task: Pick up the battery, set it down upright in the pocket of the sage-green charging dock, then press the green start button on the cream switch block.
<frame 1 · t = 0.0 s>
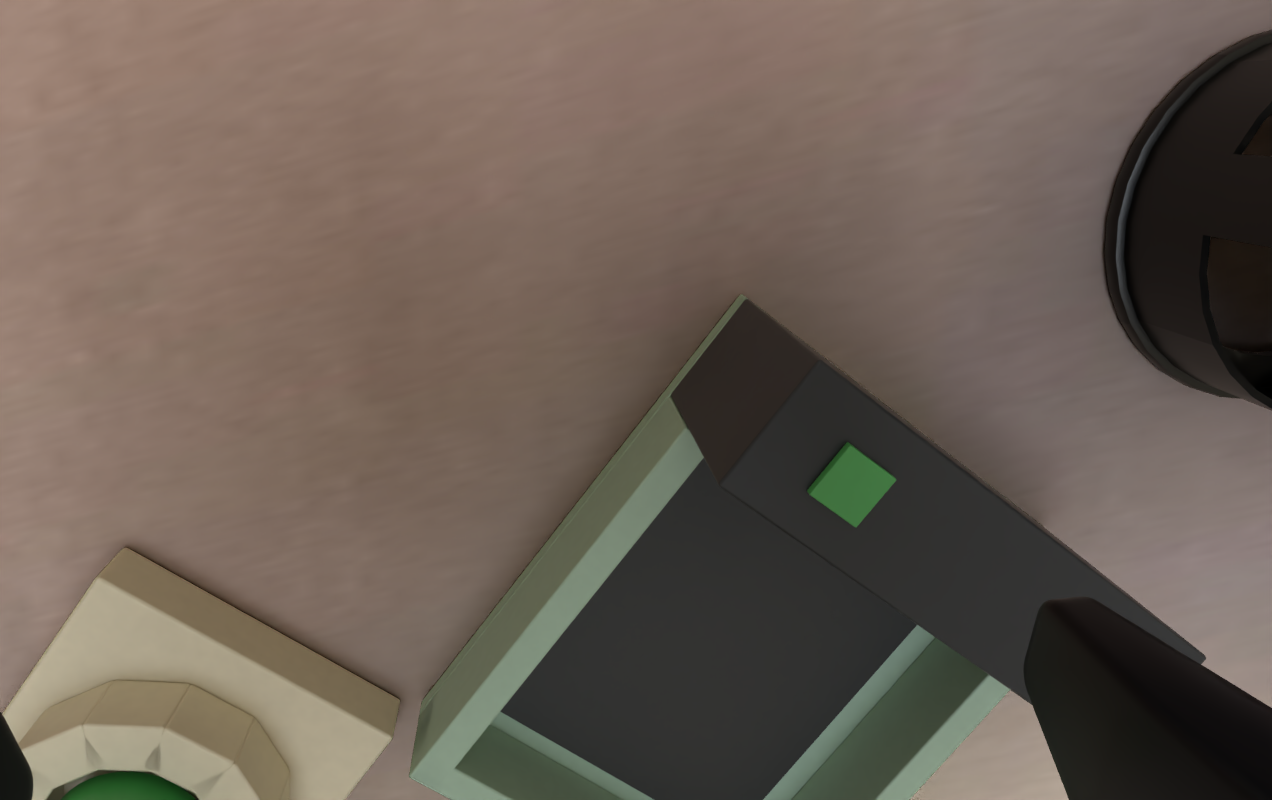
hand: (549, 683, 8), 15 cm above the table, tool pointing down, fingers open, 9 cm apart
switch block: (177, 751, 25), on the table
charging dock: (734, 616, 26), on the table
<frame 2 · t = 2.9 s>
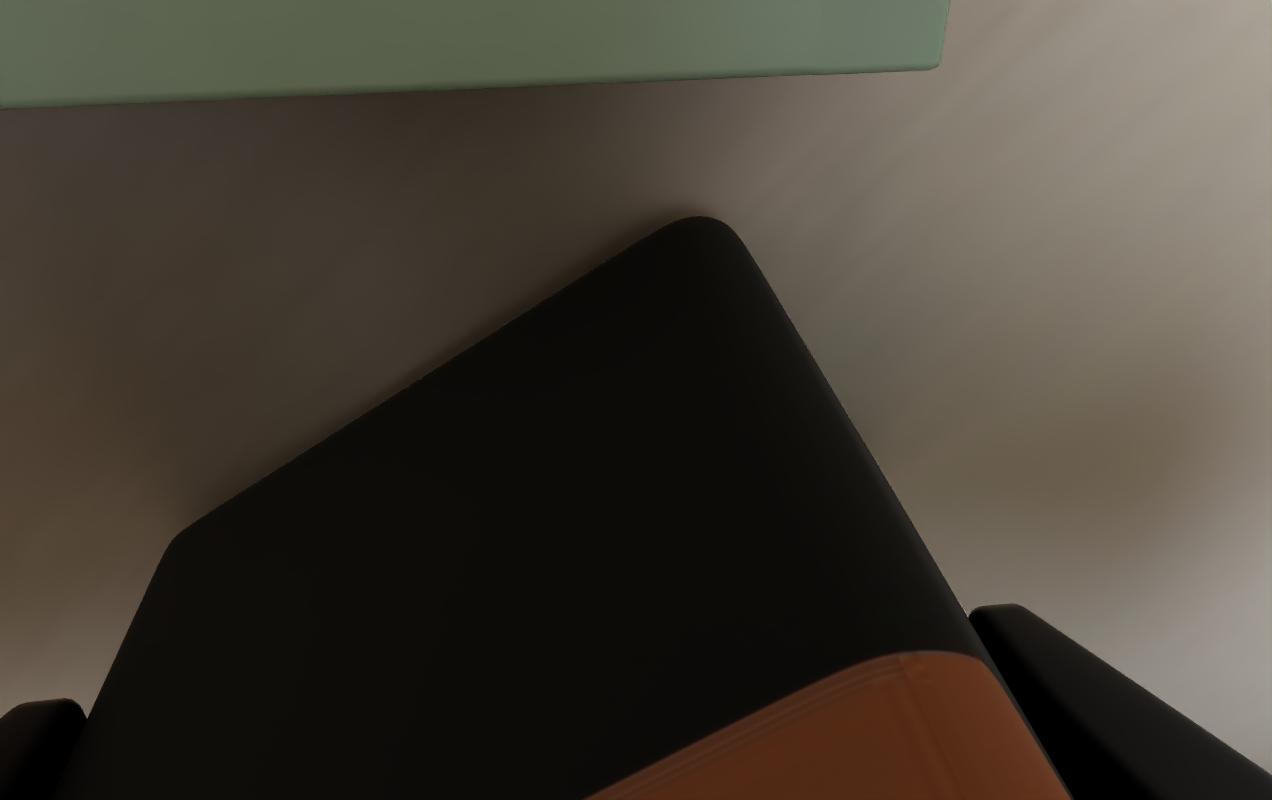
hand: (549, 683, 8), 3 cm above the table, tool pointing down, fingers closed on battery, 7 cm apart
battery: (536, 495, 11), on the table, touching gripper
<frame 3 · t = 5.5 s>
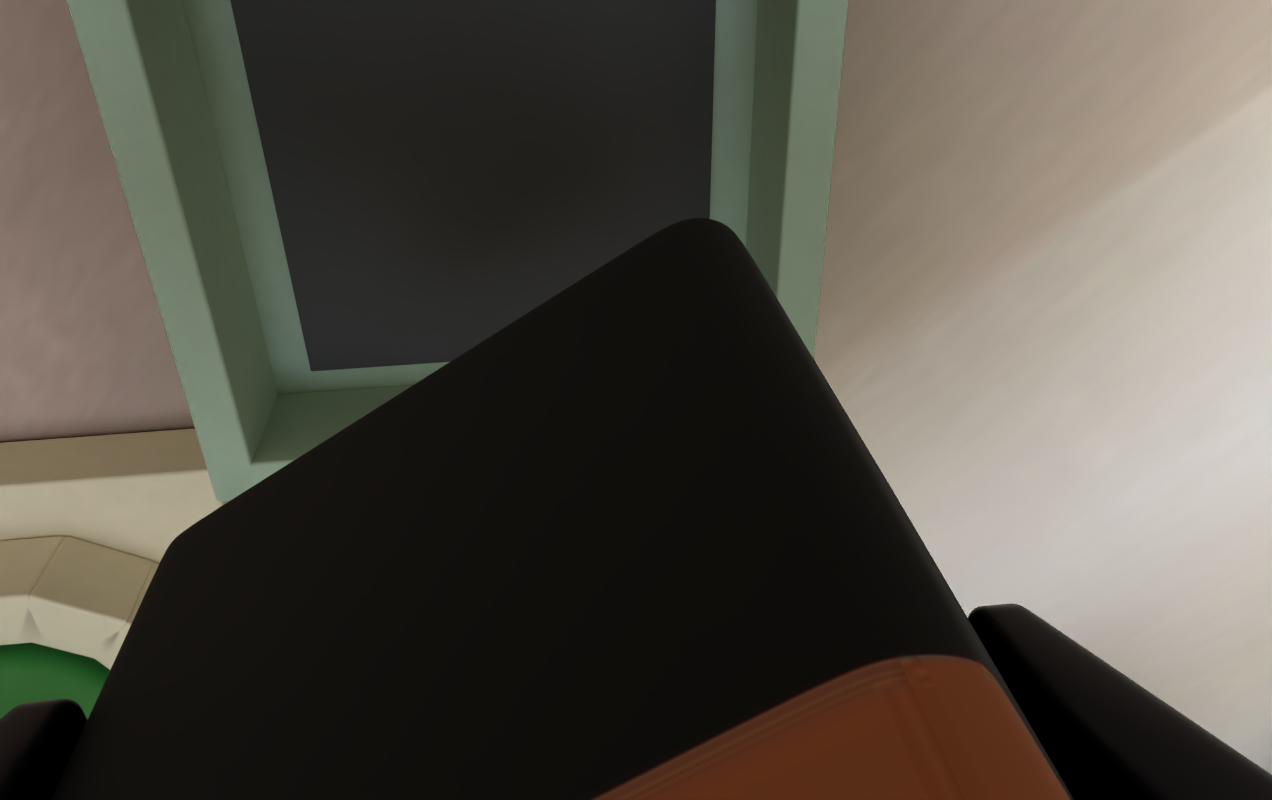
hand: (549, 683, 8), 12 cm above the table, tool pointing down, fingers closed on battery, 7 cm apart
start button: (24, 746, 19), point 4 cm above the table, slide at 0.1 cm
battery: (536, 497, 11), point 9 cm above the table, touching gripper
switch block: (99, 600, 22), on the table
charging dock: (487, 70, 17), on the table
when the fingers open (3 cm above the table, at t = 8.2 s): battery stays where it is, resting on charging dock.
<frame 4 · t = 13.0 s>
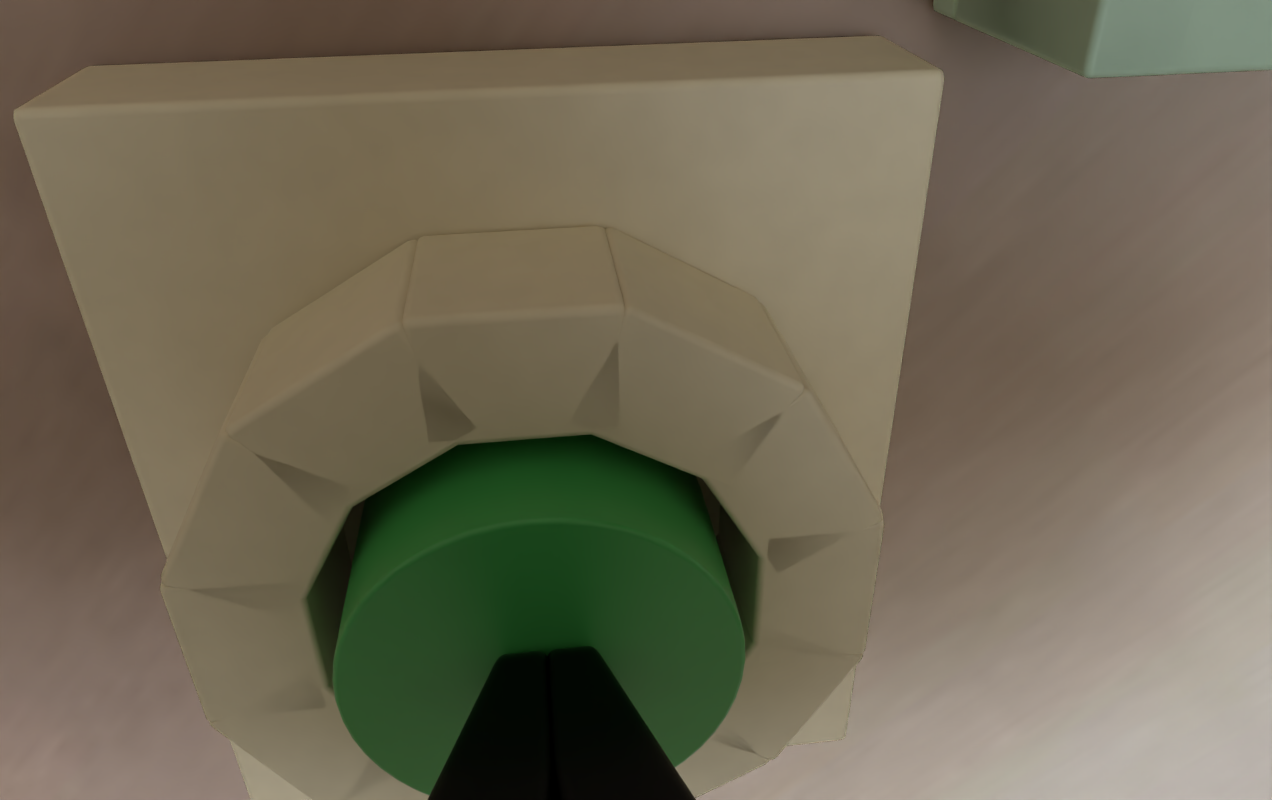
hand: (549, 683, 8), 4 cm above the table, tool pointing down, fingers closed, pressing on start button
start button: (540, 602, 9), point 3 cm above the table, slide at -0.8 cm, touching gripper
switch block: (531, 425, 12), on the table
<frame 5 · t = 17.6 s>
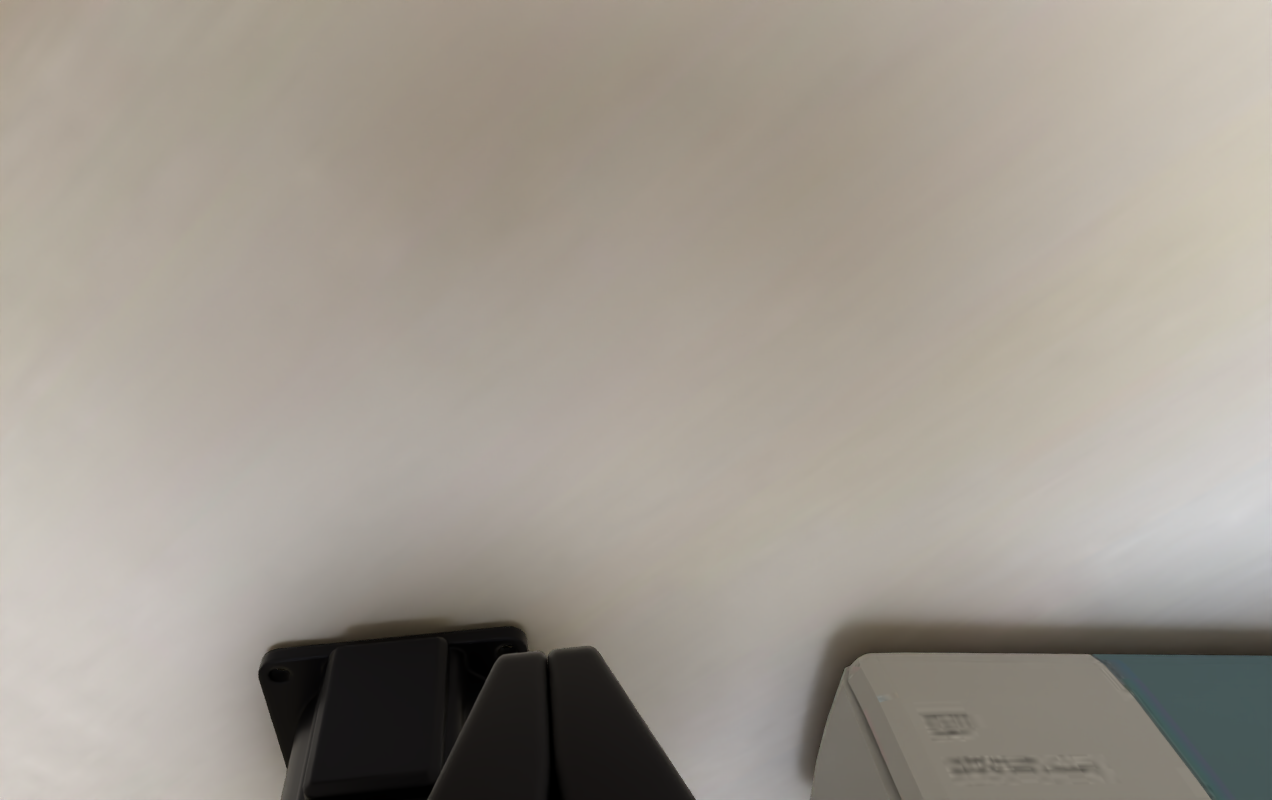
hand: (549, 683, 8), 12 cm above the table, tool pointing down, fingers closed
radio: (1124, 708, 29), on the table
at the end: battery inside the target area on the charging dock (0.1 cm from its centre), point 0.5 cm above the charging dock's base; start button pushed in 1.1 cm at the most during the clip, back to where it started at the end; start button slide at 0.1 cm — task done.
